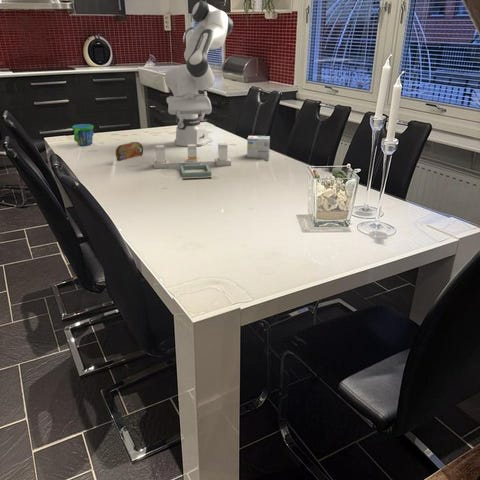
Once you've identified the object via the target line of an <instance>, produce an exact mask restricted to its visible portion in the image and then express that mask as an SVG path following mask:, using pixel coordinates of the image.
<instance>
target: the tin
mask: <svg viewBox="0 0 480 480" xmlns="http://www.w3.org/2000/svg"><path fill="white" fill-rule="evenodd" d="M143 154H144V147H143V145H142V143H140V142H138V141H130V142H127V143H123V144H120V145H118V146H117V147H116V149H115V157H116V159H117V160H118V161H124V160H125V161H126V160H127V159H132V158H137V157H142V156H143Z"/></svg>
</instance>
